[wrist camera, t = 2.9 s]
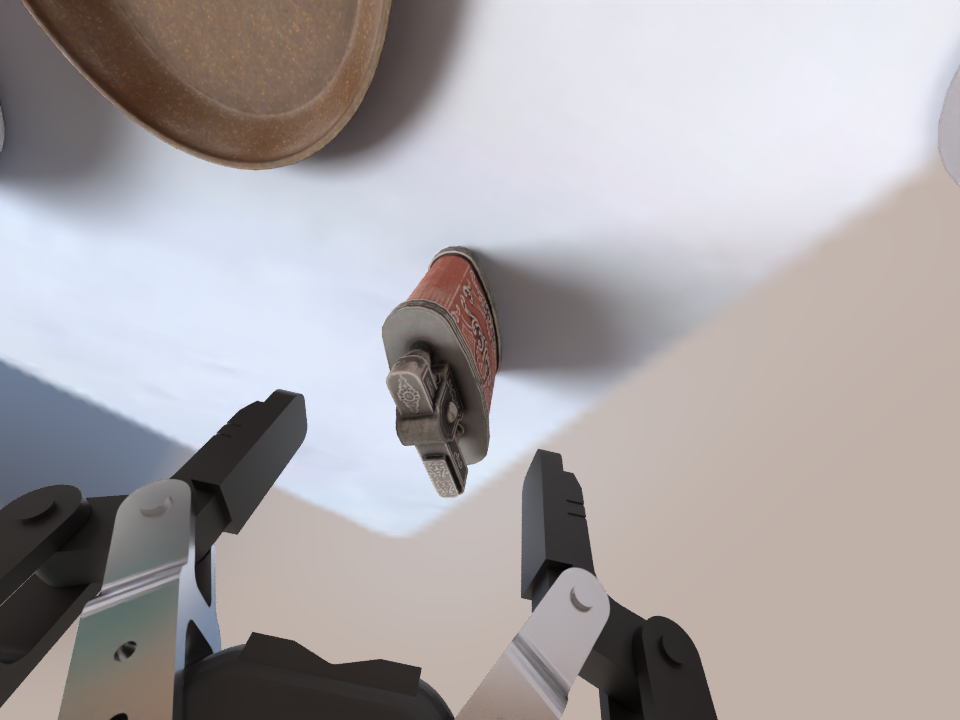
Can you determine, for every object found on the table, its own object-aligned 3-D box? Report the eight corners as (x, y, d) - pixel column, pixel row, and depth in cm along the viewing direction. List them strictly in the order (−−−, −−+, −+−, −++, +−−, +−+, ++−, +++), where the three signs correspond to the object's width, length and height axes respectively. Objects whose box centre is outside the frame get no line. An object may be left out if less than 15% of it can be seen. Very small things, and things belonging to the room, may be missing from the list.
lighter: (419, 253, 19) (327, 353, 10) (481, 239, 18) (434, 338, 10) (459, 374, 23) (415, 516, 14) (510, 368, 22) (495, 515, 14)
